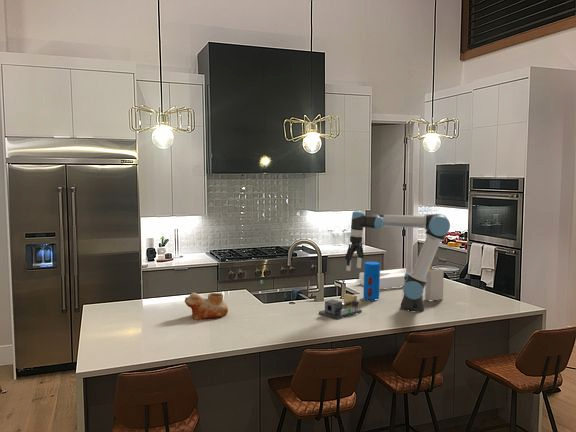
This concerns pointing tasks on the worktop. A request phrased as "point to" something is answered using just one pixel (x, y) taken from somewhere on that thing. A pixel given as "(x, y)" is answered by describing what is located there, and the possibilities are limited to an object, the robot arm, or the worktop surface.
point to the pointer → (355, 304)
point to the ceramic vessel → (207, 306)
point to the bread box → (388, 278)
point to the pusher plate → (350, 300)
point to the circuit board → (338, 309)
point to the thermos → (371, 280)
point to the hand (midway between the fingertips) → (353, 269)
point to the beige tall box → (434, 284)
